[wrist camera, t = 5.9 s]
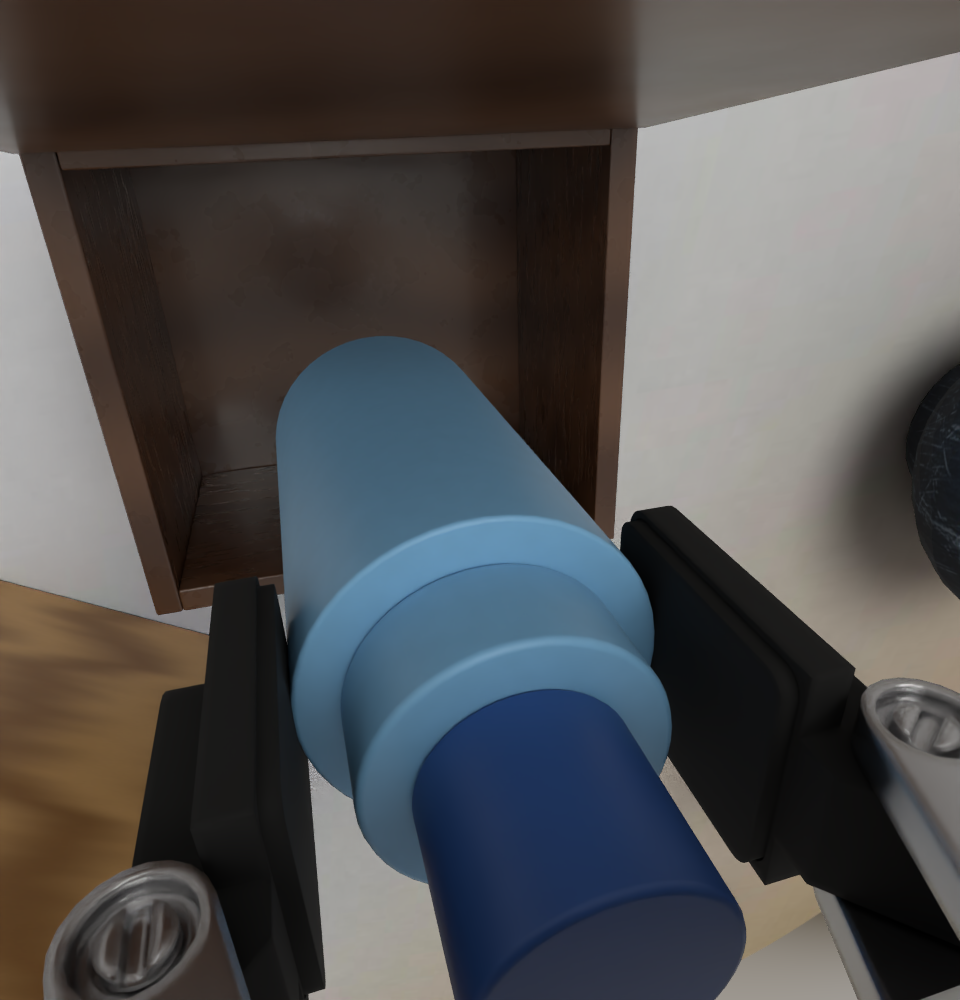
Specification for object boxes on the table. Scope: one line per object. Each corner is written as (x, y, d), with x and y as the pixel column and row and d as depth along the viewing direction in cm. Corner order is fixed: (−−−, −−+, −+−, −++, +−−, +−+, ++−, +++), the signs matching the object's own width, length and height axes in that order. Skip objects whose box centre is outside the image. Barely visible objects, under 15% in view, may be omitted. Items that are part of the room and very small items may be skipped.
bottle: (241, 489, 17) (208, 1185, 6) (330, 296, 15) (520, 710, 4) (426, 554, 19) (665, 1150, 8) (518, 389, 18) (970, 826, 6)
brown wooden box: (529, 440, 34) (614, 538, 26) (188, 485, 31) (156, 616, 23) (528, 119, 28) (639, 111, 20) (101, 135, 25) (12, 134, 16)
